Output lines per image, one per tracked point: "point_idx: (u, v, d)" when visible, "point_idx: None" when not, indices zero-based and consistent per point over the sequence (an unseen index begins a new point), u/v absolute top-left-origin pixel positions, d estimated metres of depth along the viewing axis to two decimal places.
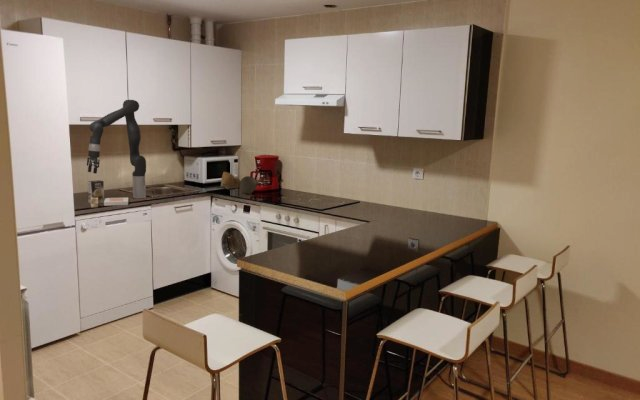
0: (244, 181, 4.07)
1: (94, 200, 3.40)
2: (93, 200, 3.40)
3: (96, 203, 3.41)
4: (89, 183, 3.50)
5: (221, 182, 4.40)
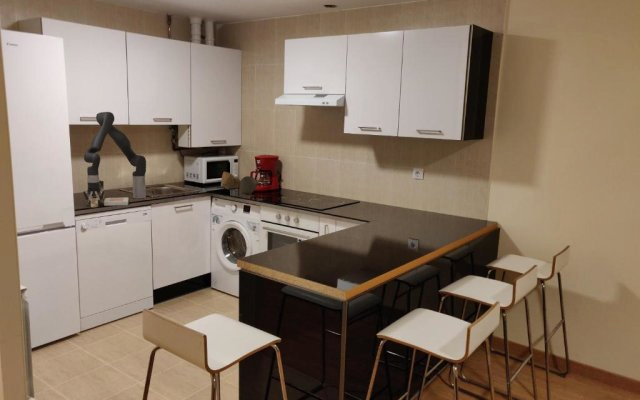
0: (244, 181, 4.07)
1: (94, 200, 3.40)
2: (93, 200, 3.40)
3: (96, 203, 3.41)
4: None
5: (221, 182, 4.40)
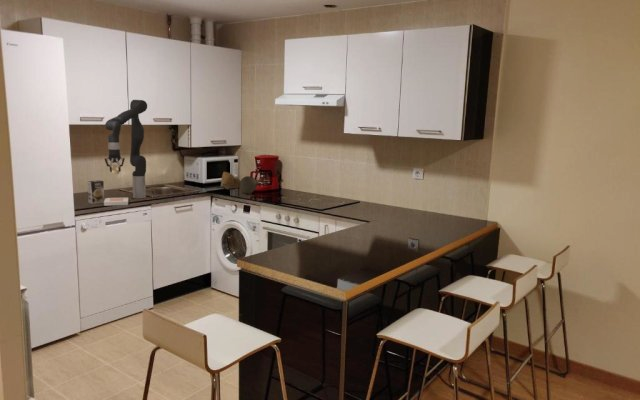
0: (244, 181, 4.07)
1: (114, 167, 3.50)
2: (114, 167, 3.50)
3: (117, 170, 3.51)
4: (89, 183, 3.50)
5: (221, 182, 4.40)
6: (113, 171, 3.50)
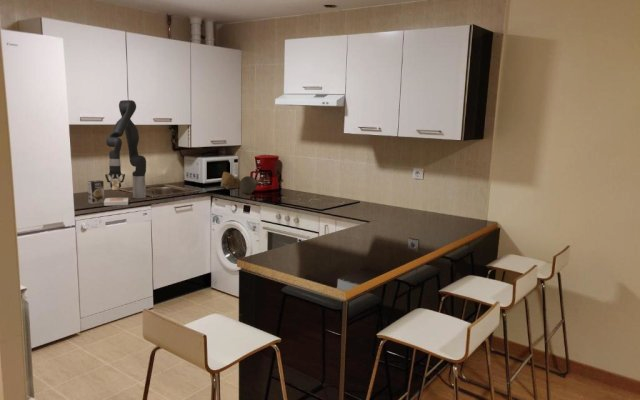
0: (244, 181, 4.07)
1: (115, 183, 3.52)
2: (114, 183, 3.52)
3: (117, 186, 3.53)
4: (89, 183, 3.50)
5: (221, 182, 4.40)
6: (113, 187, 3.52)
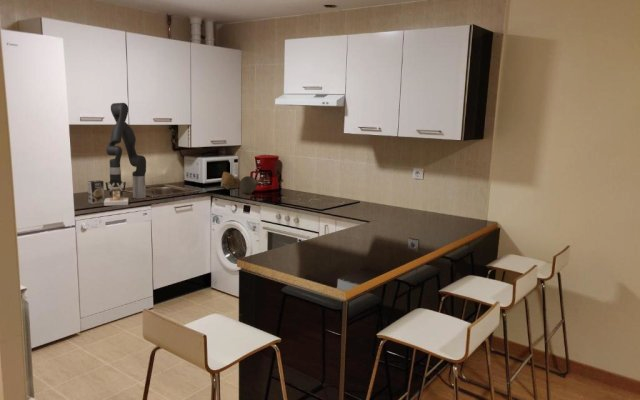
0: (244, 181, 4.07)
1: (116, 193, 3.54)
2: (115, 193, 3.54)
3: (118, 196, 3.55)
4: (89, 183, 3.50)
5: (221, 182, 4.40)
6: (114, 197, 3.54)
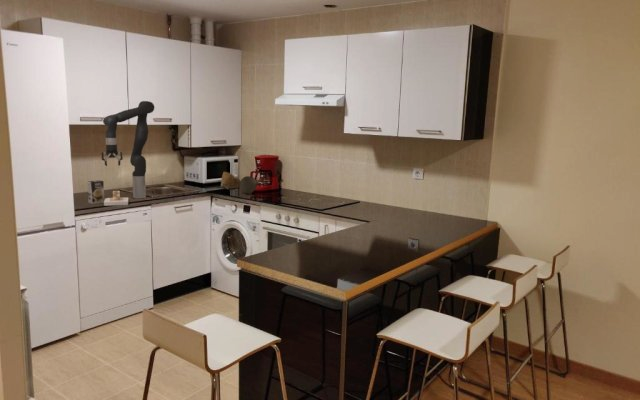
0: (244, 181, 4.07)
1: (116, 193, 3.54)
2: (115, 193, 3.54)
3: (118, 196, 3.55)
4: (89, 183, 3.50)
5: (221, 182, 4.40)
6: (114, 197, 3.54)
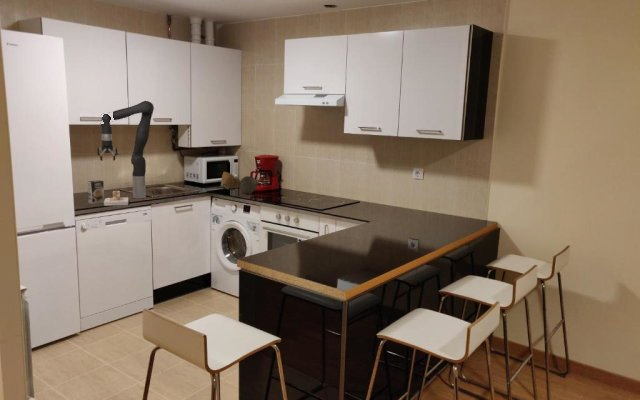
0: (244, 181, 4.07)
1: (116, 193, 3.54)
2: (115, 193, 3.54)
3: (118, 196, 3.55)
4: (89, 183, 3.50)
5: (221, 182, 4.40)
6: (114, 197, 3.54)
